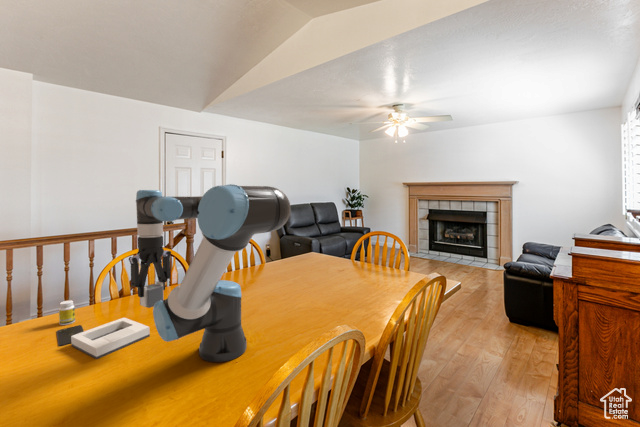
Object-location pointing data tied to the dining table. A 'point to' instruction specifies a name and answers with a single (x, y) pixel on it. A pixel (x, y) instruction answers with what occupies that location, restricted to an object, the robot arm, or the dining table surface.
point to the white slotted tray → (109, 337)
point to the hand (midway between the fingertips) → (152, 302)
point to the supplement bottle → (66, 312)
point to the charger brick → (154, 294)
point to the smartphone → (68, 334)
